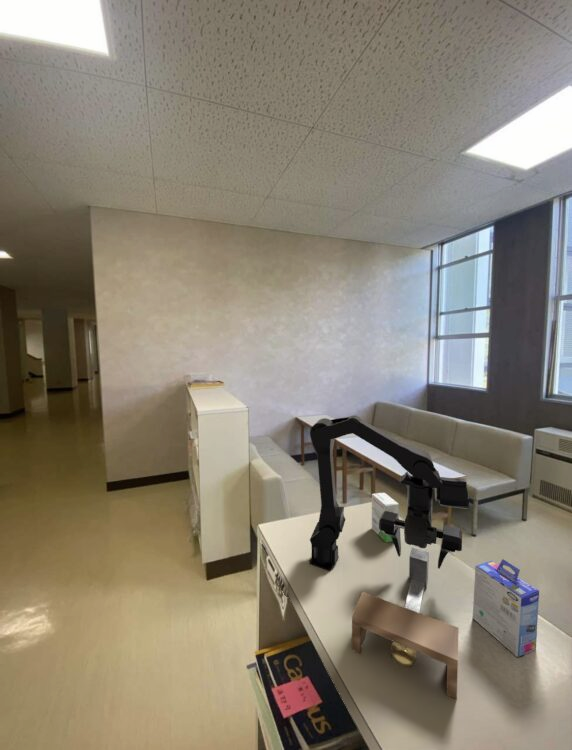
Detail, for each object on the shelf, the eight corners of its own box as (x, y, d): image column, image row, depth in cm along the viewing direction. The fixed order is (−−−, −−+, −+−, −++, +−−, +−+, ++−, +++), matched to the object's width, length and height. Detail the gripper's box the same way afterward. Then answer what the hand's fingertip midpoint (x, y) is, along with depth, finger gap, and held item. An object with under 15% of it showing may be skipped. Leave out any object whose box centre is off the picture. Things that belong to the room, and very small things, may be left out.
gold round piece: (389, 662, 59) (389, 654, 59) (393, 642, 63) (393, 635, 62) (414, 673, 57) (414, 666, 56) (417, 653, 60) (417, 646, 60)
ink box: (399, 540, 96) (400, 503, 95) (385, 543, 94) (385, 505, 94) (384, 525, 104) (384, 491, 103) (370, 528, 103) (371, 493, 102)
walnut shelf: (352, 649, 61) (352, 616, 61) (362, 622, 67) (362, 591, 67) (456, 699, 52) (457, 660, 52) (457, 662, 58) (458, 627, 58)
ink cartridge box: (538, 650, 60) (542, 579, 59) (519, 660, 59) (522, 587, 57) (489, 610, 70) (491, 548, 69) (471, 618, 68) (473, 554, 67)
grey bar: (398, 625, 66) (399, 594, 66) (411, 573, 82) (411, 547, 81) (419, 634, 64) (419, 601, 64) (428, 578, 80) (428, 552, 79)
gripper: (373, 507, 75) (373, 568, 76) (462, 527, 66) (460, 597, 67) (384, 489, 85) (383, 544, 86) (462, 505, 76) (461, 566, 77)
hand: (418, 561), depth 79 cm, fingers open, 9 cm apart
